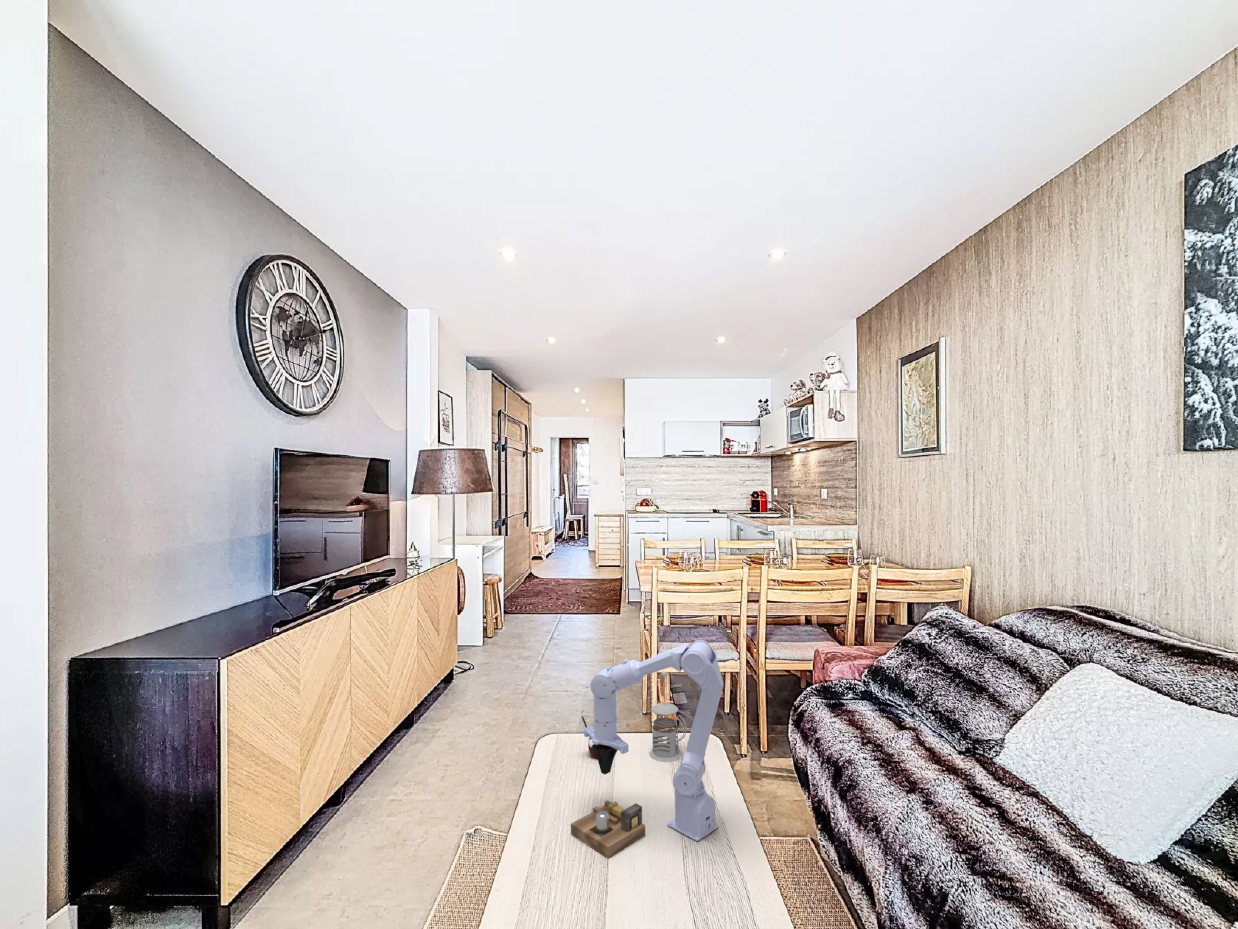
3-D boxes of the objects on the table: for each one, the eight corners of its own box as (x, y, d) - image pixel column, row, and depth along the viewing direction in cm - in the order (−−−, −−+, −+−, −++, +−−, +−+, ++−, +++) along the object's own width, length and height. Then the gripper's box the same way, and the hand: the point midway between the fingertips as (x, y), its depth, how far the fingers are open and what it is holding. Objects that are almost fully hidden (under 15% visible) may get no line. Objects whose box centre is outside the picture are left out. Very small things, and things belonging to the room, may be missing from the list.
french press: (658, 744, 196) (657, 664, 196) (692, 752, 190) (691, 670, 190) (643, 757, 187) (642, 673, 187) (678, 766, 181) (677, 680, 181)
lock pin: (638, 824, 148) (638, 813, 148) (630, 829, 146) (630, 818, 146) (615, 811, 154) (615, 801, 154) (607, 816, 152) (607, 805, 152)
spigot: (611, 838, 147) (611, 812, 147) (604, 845, 144) (604, 819, 144) (600, 834, 149) (600, 809, 149) (593, 841, 146) (593, 815, 146)
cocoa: (613, 752, 191) (615, 713, 191) (610, 762, 185) (612, 720, 185) (583, 750, 192) (584, 710, 193) (579, 758, 186) (580, 718, 186)
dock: (645, 835, 148) (644, 808, 148) (608, 858, 140) (608, 829, 140) (607, 813, 157) (607, 788, 157) (570, 834, 149) (570, 806, 149)
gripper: (574, 715, 161) (575, 768, 161) (613, 732, 150) (614, 788, 150) (594, 707, 166) (595, 758, 166) (634, 723, 155) (634, 778, 155)
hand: (605, 772), depth 158 cm, fingers closed
